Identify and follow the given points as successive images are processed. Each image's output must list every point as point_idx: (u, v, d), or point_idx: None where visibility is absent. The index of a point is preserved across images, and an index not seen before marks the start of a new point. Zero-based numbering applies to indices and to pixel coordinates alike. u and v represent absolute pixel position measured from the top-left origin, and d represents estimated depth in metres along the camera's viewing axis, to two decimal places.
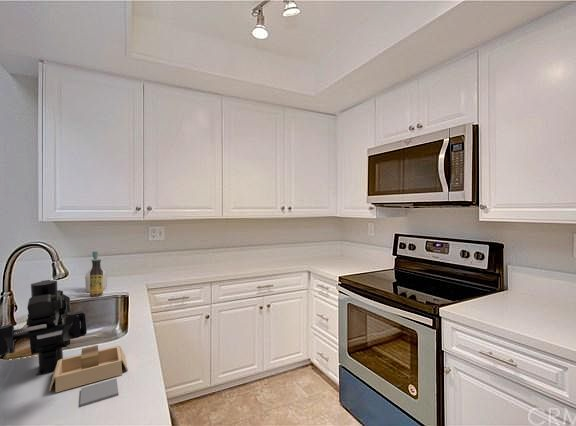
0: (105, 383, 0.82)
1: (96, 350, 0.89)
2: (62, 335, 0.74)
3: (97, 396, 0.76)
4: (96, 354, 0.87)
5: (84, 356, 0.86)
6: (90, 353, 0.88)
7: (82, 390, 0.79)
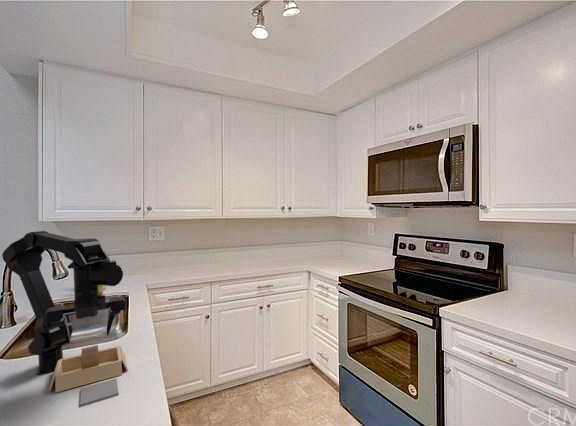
0: (105, 383, 0.82)
1: (96, 350, 0.89)
2: (107, 333, 0.90)
3: (97, 396, 0.76)
4: (96, 354, 0.87)
5: (84, 356, 0.86)
6: (90, 353, 0.88)
7: (82, 390, 0.79)
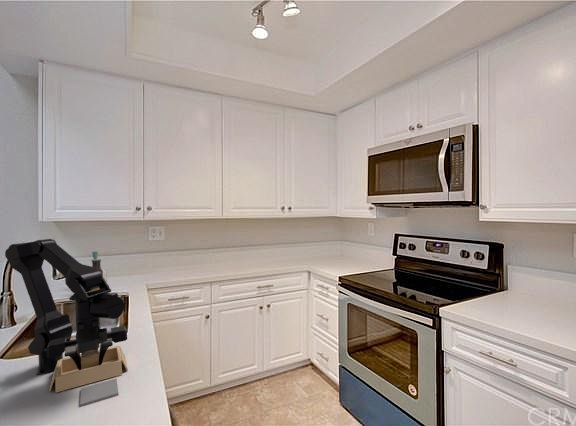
0: (105, 383, 0.82)
1: (96, 350, 0.89)
2: None
3: (97, 396, 0.76)
4: (96, 354, 0.87)
5: (84, 356, 0.86)
6: (90, 353, 0.88)
7: (82, 390, 0.79)
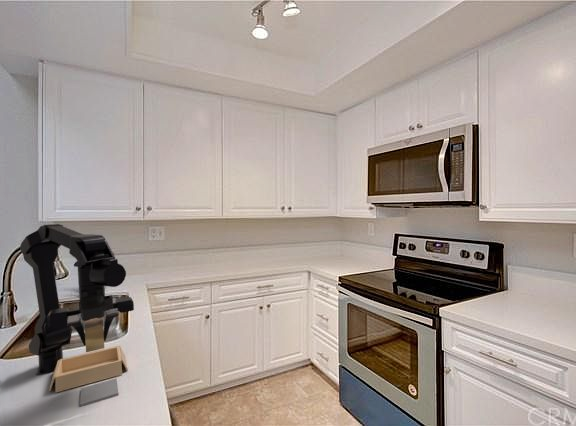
0: (105, 383, 0.82)
1: (101, 321, 0.83)
2: (104, 338, 0.83)
3: (97, 396, 0.76)
4: (101, 324, 0.81)
5: (88, 326, 0.80)
6: (94, 324, 0.82)
7: (82, 390, 0.79)
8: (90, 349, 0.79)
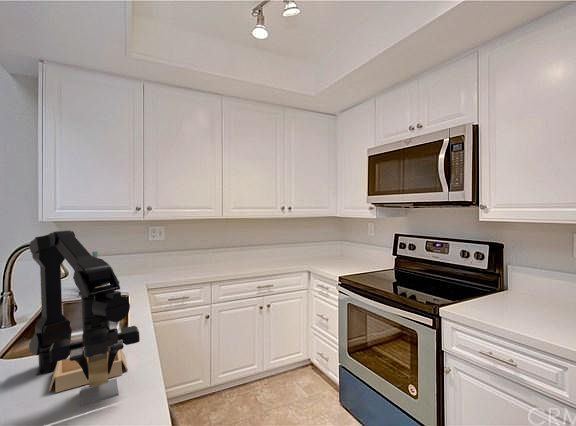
0: (105, 383, 0.82)
1: (105, 353, 0.79)
2: (109, 371, 0.79)
3: (97, 396, 0.76)
4: (105, 358, 0.77)
5: (92, 360, 0.76)
6: (98, 356, 0.78)
7: (82, 390, 0.79)
8: (94, 384, 0.75)
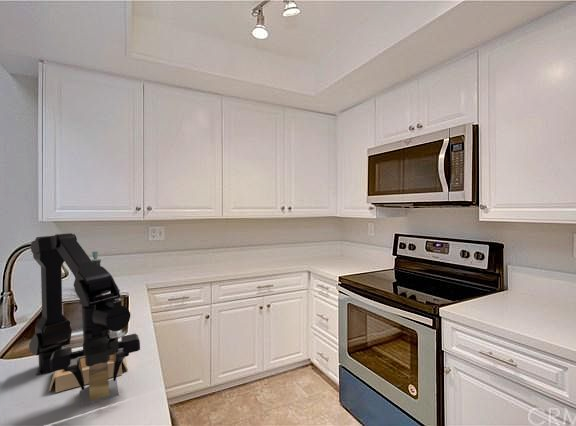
0: None
1: (105, 366, 0.79)
2: (114, 378, 0.79)
3: None
4: (106, 370, 0.77)
5: (92, 373, 0.76)
6: (99, 369, 0.78)
7: (82, 390, 0.79)
8: (94, 397, 0.75)
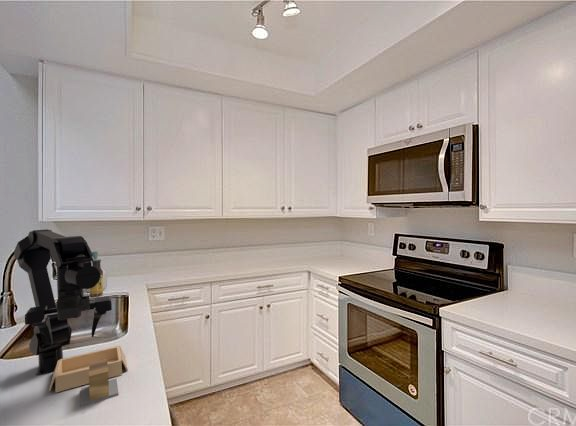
0: None
1: (105, 366, 0.79)
2: (92, 334, 0.86)
3: None
4: (106, 370, 0.77)
5: (92, 373, 0.76)
6: (99, 369, 0.78)
7: (82, 390, 0.79)
8: (94, 397, 0.75)
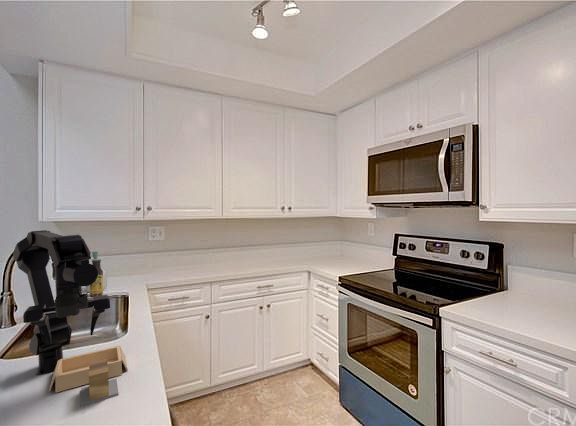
0: None
1: (105, 366, 0.79)
2: (91, 333, 0.86)
3: None
4: (106, 370, 0.77)
5: (92, 373, 0.76)
6: (99, 369, 0.78)
7: (82, 390, 0.79)
8: (94, 397, 0.75)
